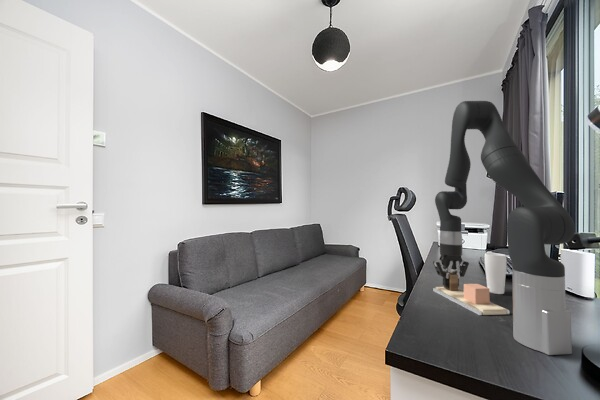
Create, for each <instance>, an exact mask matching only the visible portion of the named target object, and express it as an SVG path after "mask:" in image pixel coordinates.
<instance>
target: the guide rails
mask: <svg viewBox="0 0 600 400" xmlns="http://www.w3.org/2000/svg"><path fill="white" fill-rule="evenodd" d="M458 288H459V287H458ZM432 289H433V290H432V291H433V292H434V293H436V294H438V295H440V296H442V297H444V298H446V299H448V300H449V301H451V302H453V303H456V304H457V305H459V306H461V307H463V308H464V309H466V310H469V311H470V312H473V313H475V314H476V315H478V316H482V311H480V310H478V309H476V308H474V307H472V306H470V305H468V304H466V303H464V302H462V301H460V300H458V299H456V298H454V297H452V296H450V295H448V294H446V293H444V292H442V291H440V290H438V289H436V287H433V288H432ZM459 289H461V290H463V288H459ZM490 302H491V301H490ZM491 303H493V302H491ZM493 304H495V303H493ZM499 306H500V305H499ZM500 307H502V306H500ZM502 308H504V307H502ZM506 309H507V308H506ZM510 313H511V312H510V309H507V314H506V315H510Z"/></svg>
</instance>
